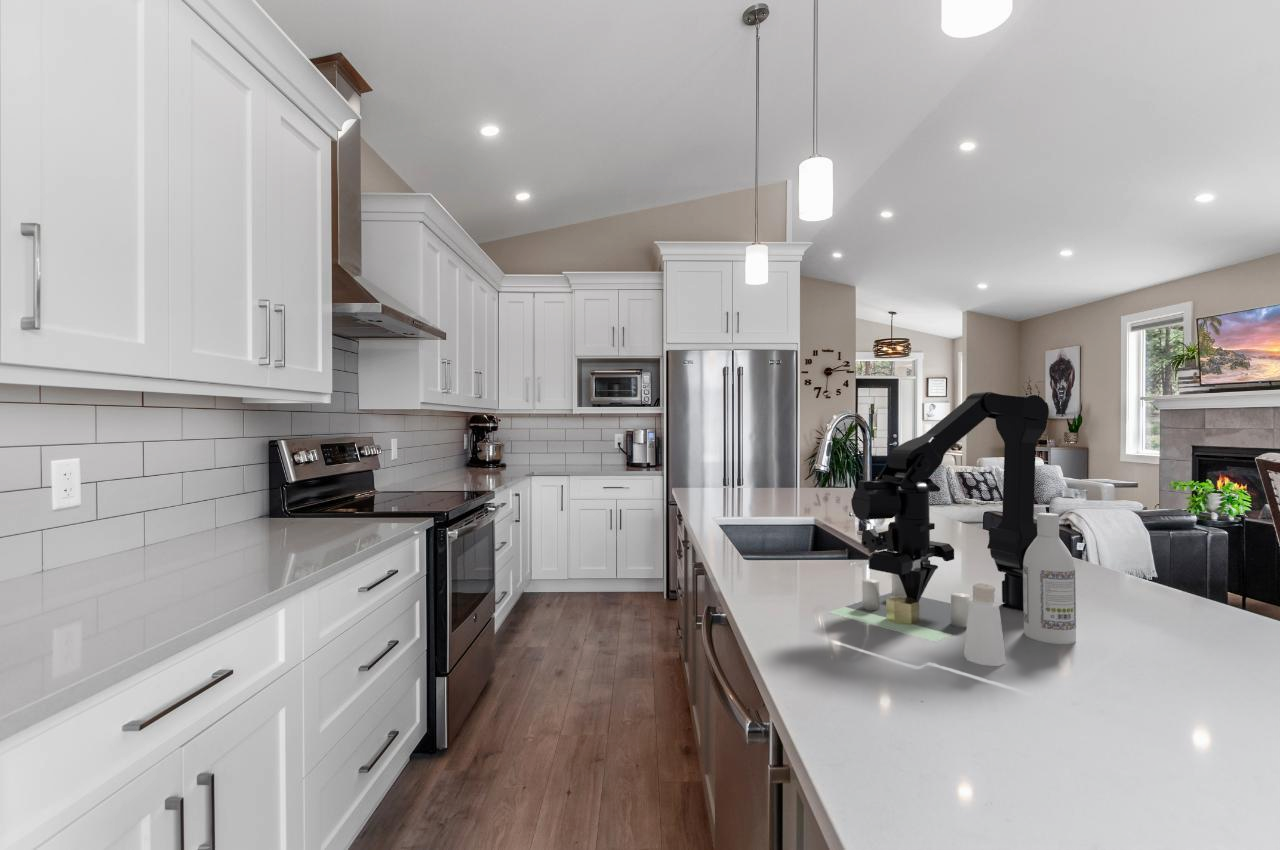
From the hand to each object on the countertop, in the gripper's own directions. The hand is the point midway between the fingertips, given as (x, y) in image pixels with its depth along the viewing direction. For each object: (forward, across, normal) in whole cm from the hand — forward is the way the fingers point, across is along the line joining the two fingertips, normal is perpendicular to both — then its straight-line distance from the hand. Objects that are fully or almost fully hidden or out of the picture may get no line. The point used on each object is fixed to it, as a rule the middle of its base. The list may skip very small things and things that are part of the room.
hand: (913, 604), depth 109 cm
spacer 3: (+2, -2, +8) cm, 8 cm away
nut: (+2, +4, 0) cm, 4 cm away
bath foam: (+3, -7, +19) cm, 20 cm away
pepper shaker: (+2, +11, +17) cm, 21 cm away
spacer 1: (+2, +2, -7) cm, 8 cm away
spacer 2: (+2, -8, -8) cm, 12 cm away
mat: (+2, -2, -1) cm, 3 cm away
